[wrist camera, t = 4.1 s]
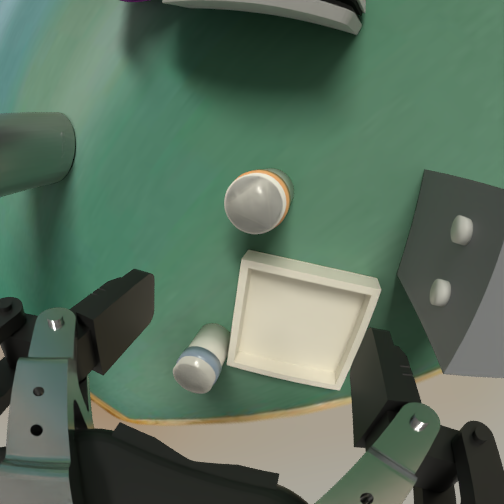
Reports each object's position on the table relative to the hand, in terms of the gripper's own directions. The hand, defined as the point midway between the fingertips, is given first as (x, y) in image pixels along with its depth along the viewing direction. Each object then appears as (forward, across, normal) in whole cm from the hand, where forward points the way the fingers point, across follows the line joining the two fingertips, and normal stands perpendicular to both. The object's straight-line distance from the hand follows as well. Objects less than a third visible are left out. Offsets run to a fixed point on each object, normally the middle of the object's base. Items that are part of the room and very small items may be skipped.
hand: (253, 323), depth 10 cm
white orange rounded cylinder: (+17, +2, -2) cm, 17 cm away
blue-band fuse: (+17, +5, +15) cm, 23 cm away
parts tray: (+17, -3, +10) cm, 20 cm away
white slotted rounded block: (+17, +5, -20) cm, 27 cm away
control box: (+17, -15, -2) cm, 22 cm away
